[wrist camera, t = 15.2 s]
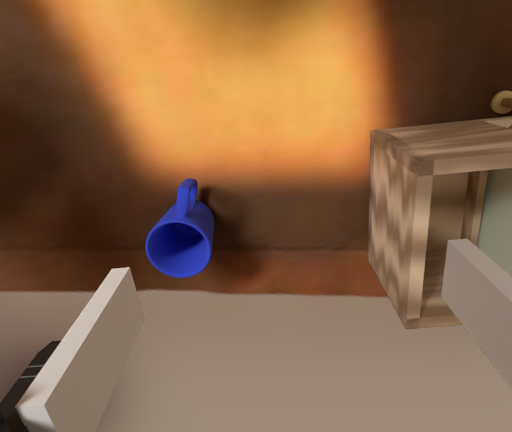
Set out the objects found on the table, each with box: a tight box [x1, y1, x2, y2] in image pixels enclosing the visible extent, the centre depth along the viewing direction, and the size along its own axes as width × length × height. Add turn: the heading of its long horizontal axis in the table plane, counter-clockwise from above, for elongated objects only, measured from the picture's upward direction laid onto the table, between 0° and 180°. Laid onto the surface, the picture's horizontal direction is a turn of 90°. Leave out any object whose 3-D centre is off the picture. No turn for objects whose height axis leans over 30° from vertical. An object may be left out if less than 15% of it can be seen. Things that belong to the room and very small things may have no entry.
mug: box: [146, 179, 214, 278], centre depth 49 cm, size 8×12×10 cm
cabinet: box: [368, 90, 512, 329], centre depth 44 cm, size 23×21×16 cm
